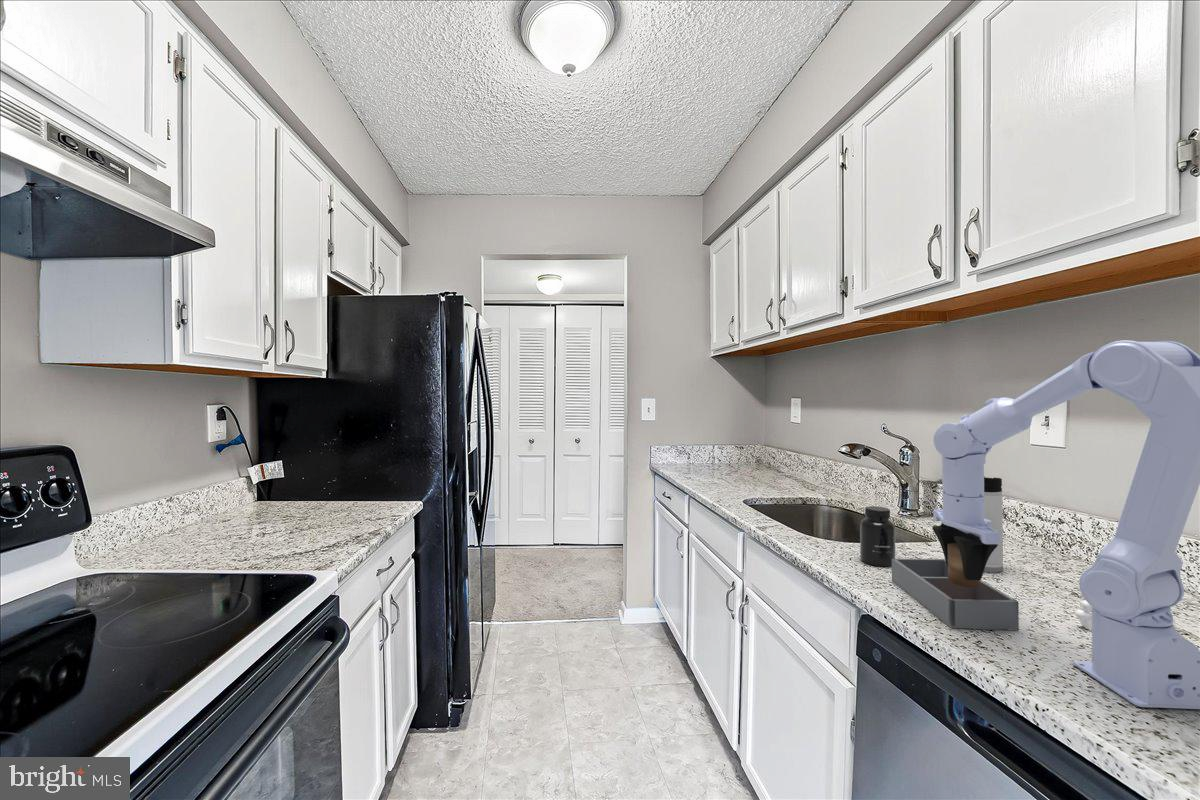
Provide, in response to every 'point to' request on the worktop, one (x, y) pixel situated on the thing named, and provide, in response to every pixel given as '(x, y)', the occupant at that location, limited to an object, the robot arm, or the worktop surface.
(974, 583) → the walnut cylinder
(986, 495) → the travel mug
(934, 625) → the worktop surface
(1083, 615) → the marshmallow
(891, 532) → the supplement bottle
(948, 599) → the organiser
